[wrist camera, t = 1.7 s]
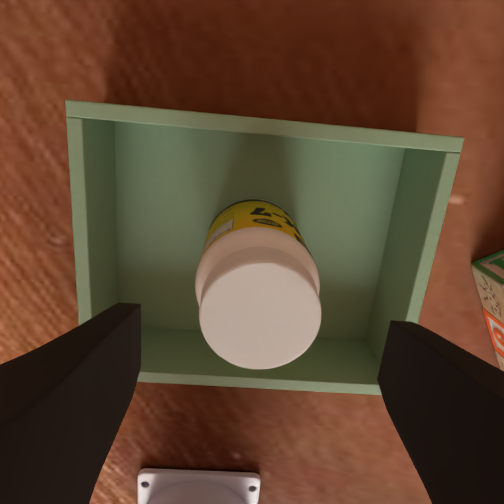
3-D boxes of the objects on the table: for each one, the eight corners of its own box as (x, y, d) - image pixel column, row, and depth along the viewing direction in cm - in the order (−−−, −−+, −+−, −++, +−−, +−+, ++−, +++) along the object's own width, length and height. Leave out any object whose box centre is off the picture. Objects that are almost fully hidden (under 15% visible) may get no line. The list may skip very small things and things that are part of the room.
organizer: (370, 346, 23) (399, 396, 19) (110, 330, 22) (81, 379, 18) (416, 132, 19) (465, 137, 15) (103, 102, 18) (64, 99, 14)
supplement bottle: (317, 236, 21) (366, 311, 13) (258, 299, 22) (269, 405, 14) (247, 176, 19) (252, 218, 11) (188, 246, 21) (156, 328, 13)
